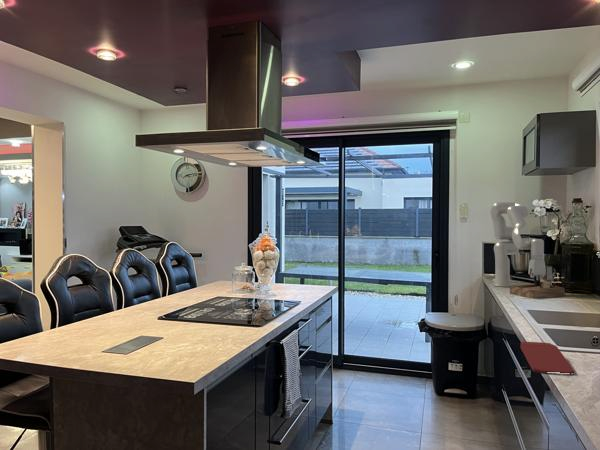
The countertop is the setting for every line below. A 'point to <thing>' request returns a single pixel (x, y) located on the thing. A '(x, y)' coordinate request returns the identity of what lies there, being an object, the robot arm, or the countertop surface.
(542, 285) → the maple block
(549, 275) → the coffee box
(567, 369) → the dark red flat piece
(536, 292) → the wooden cutting board
